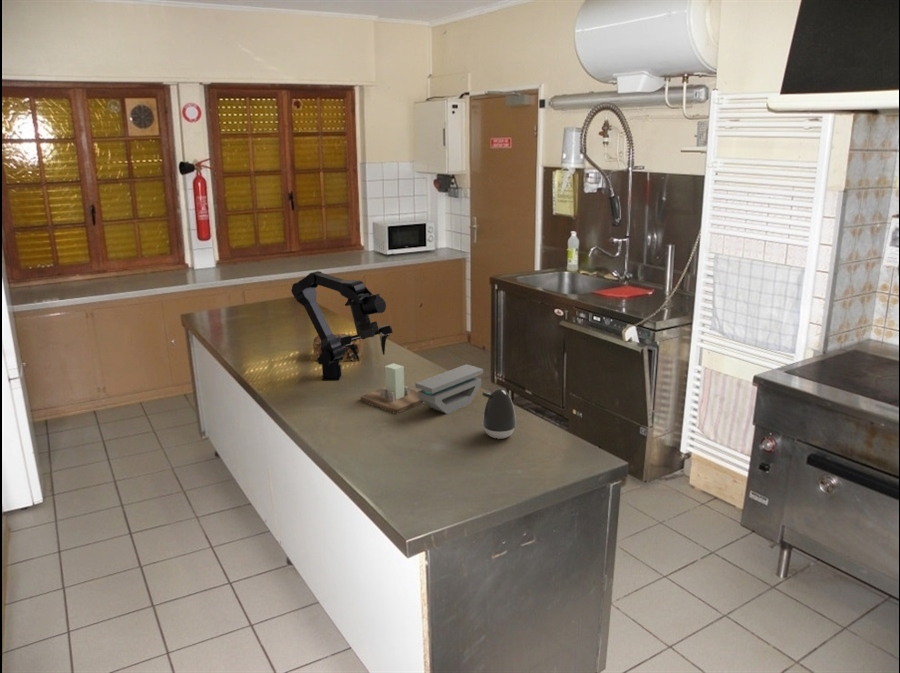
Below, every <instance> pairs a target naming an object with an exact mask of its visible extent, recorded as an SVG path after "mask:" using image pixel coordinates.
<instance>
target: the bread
mask: <svg viewBox="0 0 900 673" xmlns="http://www.w3.org/2000/svg"><path fill="white" fill-rule="evenodd" d="M333 335H334V336H336V337H341V336H344V335H347V334H345V333H333ZM349 335H350V336H353V335H352V334H349ZM352 343H353V344H354V347H355V349H356V352H357V354H358V357H359V359H360V357H361V355H362V339H358V340H354V341H352ZM344 347H345V346H344ZM312 349H313V357H314V361H316V362H318V360H317V358H318V357H319V356H320V355H321V354H322V351H321V339H320V337H319V335H318V334H317V336H315V337H314V339H313V344H312ZM345 349H346V351H345V355H344V357H343V360H340V362H350V361H351V360H352V361H353V362H357V361H358V360H357V358H356V357H355V355H354V353H353V352H352V350H351V349H350V348H349V347H345ZM352 361H351V362H352Z"/></svg>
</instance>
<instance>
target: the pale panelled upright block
mask: <svg viewBox="0 0 900 673" xmlns="http://www.w3.org/2000/svg"><path fill="white" fill-rule="evenodd" d="M384 372H385V378H384V379H385V387H386V390H387V397H389V392H390V391H391V392H394V393H395V399H396V400H397V399H399V398H402V397H404V386H405V368H404V366H403V365H400V364H397V363H394V362H393V363H390V364H387V365H385V366H384Z"/></svg>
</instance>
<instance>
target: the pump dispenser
mask: <svg viewBox="0 0 900 673" xmlns="http://www.w3.org/2000/svg"><path fill="white" fill-rule="evenodd" d="M481 394H482V396H483V397H486V398H488V399H487V402H486V404H485V407H484V412H483V416H482V426H483V428H484V431H485V432H486V434H487V435H488V436H489V437H491V438H494V439H496V438H497V439H496V440H500V439H501V440H502V439H503V440H504V439H506V438H509V437H510V436H511V435H512V434H513V433H514V431H515V429H516V426H517V417H516V411H515V407H514V402H513V401H512V398H511V396H510V395H509V393H508V391H506V390H505V389H503V388H496V389H494V390H493V391H492V392H491V393H488V392H486V391H485V392H484V391H483V392H482V393H481Z"/></svg>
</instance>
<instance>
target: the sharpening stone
mask: <svg viewBox="0 0 900 673" xmlns="http://www.w3.org/2000/svg"><path fill="white" fill-rule="evenodd" d="M483 374H484V368H480V367H478V366H473V365H470V364H467V363H466V364H464V365H461V366H458V367H455V368H453V369H450V370H446V371H444V372H442V373H439V374H436V375H434V376H431V377H429V378H425V379H423V380H420V381H417V382H415V383H414V384H415V385H414V386H415V388H416V389H419V390H418V391H417V392H418V398H419V399H420V400H422V401H423V402H424V403H423V404H425V405H427V406H428V407H429V408H430V409H432V408H433V410H435V411H439V412H440V411H441V413H443V414H446V415H448V414H451V413H453V412H455V411H457V410H461V409H463V408H465V407H467V406H469V405H471V404H472V402H473V400H474V398H475V397H476V394H477V393H478V392H479V390H480V388H481V386H482V378H479V377H478V376H480V375H483Z"/></svg>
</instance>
